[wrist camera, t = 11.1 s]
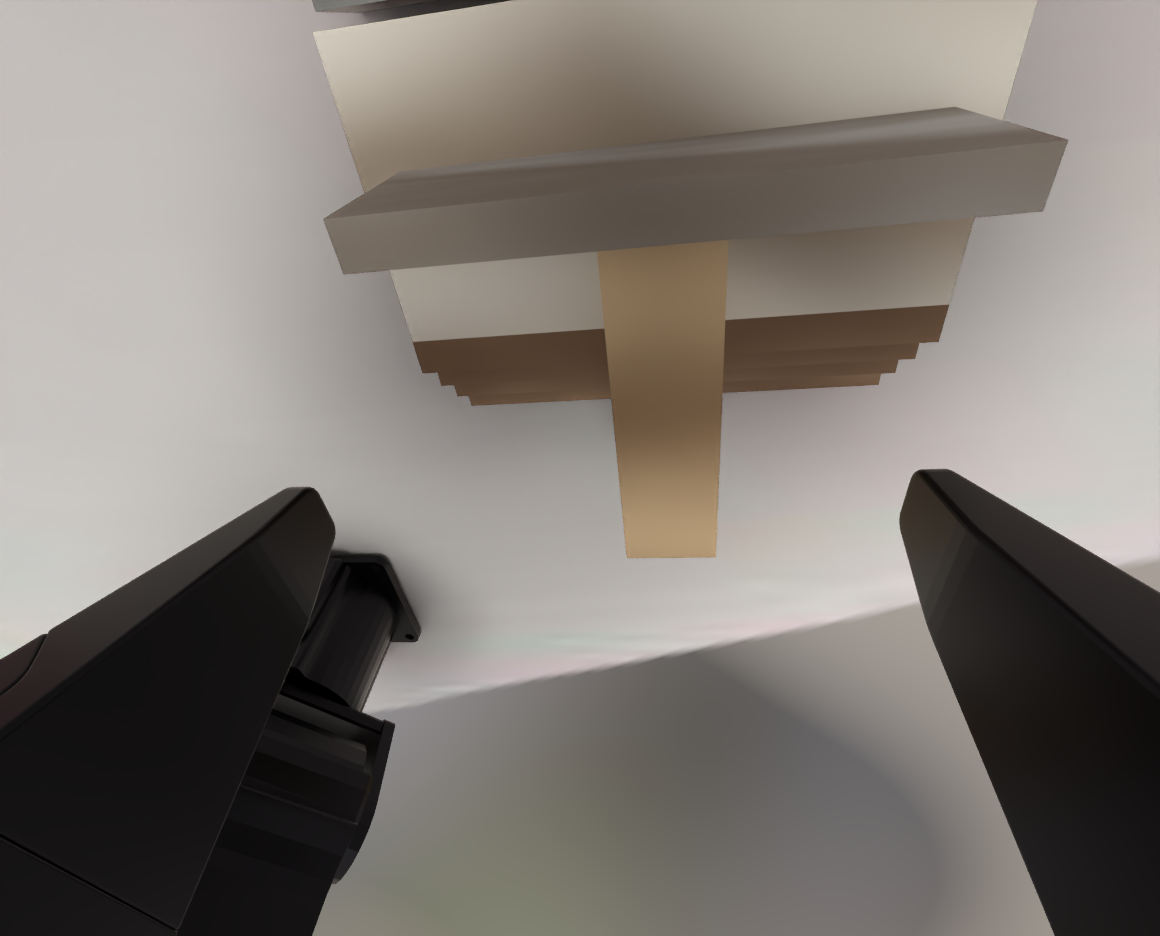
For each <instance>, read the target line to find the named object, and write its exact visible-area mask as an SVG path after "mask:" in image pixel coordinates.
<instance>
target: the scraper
mask: <svg viewBox="0 0 1160 936" xmlns="http://www.w3.org/2000/svg"><path fill="white" fill-rule="evenodd" d="M1067 142H1068V140H1067V139H1063V138H1060V137H1056V136H1053V135H1050V134H1046V133H1043V132H1040V131H1036V130H1033V129H1029V128H1026V127H1023V126H1019V125H1016V124H1013V123H1009V122H1006V121H1002V120H999V119H996V118H992V117H989V116H985V115H982V114H979V113H975V112H972V111H969V110H965V109H962V108H958V107H948V108H939V109H931V110H922V111H914V112H905V113H897V114H888V115H880V116H871V117H863V118H854V119H846V120H837V121H828V122H820V123H811V124H803V125H794V126H786V127H777V128H769V129H760V130H752V131H743V132H735V133H726V134H717V135H709V136H700V137H692V138H683V139H675V140H666V141H658V142H649V143H641V144H632V145H624V146H615V147H607V148H598V149H589V150H581V151H572V152H564V153H555V154H547V155H538V156H530V157H521V158H513V159H504V160H496V161H487V162H478V163H470V164H461V165H453V166H444V167H436V168H427V169H419V170H410V171H402V172H398V173H397V174H395V175H394V176H392V177H390V178H389V179H387V180H386V181H384V182H382V183H381V184H379V185H377V186H376V187H374V188H373V189H371V190H369V191H368V192H366V193H365V194H363V195H361V196H360V197H358V198H356V199H355V200H353V201H352V202H350V203H348V204H347V205H345V206H344V207H342V208H340V209H339V210H337V211H336V212H334V213H332V214H331V215H329V216H327V217H326V218H324V219H323V220H324V223H325V225H326V228H327V231H328V233H329V236H330V239H331V241H332V244H333V247H334V249H335V252H336V255H337V257H338V260H339V263H340V265H341V268H342V271H343V273H344V274H353V273H364V272H376V271H387V270H398V269H409V268H420V267H431V266H442V265H453V264H464V263H475V262H487V261H498V260H509V259H520V258H531V257H542V256H553V255H564V254H575V253H586V252H597V258H598V268H599V278H600V288H601V298H602V309H603V319H604V329H605V339H606V350H607V360H608V370H609V380H610V390H611V401H612V411H613V421H614V431H615V442H616V452H617V462H618V472H619V483H620V493H621V503H622V513H623V523H624V534H625V544H626V554H627V558H688V557H716V537H717V513H718V488H719V463H720V439H721V414H722V389H723V365H724V340H725V315H726V291H727V266H728V242H729V240H731V239H742V238H753V237H764V236H775V235H786V234H797V233H808V232H820V231H831V230H842V229H853V228H864V227H875V226H886V225H897V224H908V223H919V222H931V221H942V220H953V219H964V218H975V217H986V216H997V215H1008V214H1019V213H1030V212H1042V211H1043V209H1044V207H1045V204H1046V201H1047V198H1048V195H1049V193H1050V190H1051V187H1052V184H1053V181H1054V179H1055V176H1056V173H1057V170H1058V167H1059V165H1060V162H1061V159H1062V156H1063V153H1064V151H1065V148H1066V145H1067Z"/></svg>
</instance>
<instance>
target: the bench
mask: <svg viewBox="0 0 1160 936" xmlns="http://www.w3.org/2000/svg"><path fill="white" fill-rule="evenodd" d="M1036 3H1037V0H512V1H506V2H500V3H493V4H487V5H481V6H475V7H468V8H462V9H456V10H449V11H443V12H437V13H431V14H424V15H418V16H412V17H406V18H399V19H393V20H387V21H381V22H374V23H368V24H362V25H356V26H349V27H343V28H337V29H331V30H324V31H318V32H313V35H314V38H315V41H316V45H317V48H318V51H319V54H320V57H321V60H322V63H323V66H324V69H325V72H326V76H327V79H328V82H329V85H330V88H331V91H332V94H333V97H334V100H335V103H336V106H337V110H338V113H339V116H340V119H341V122H342V125H343V128H344V131H345V134H346V137H347V141H348V144H349V147H350V150H351V153H352V156H353V159H354V162H355V165H356V168H357V171H358V175H359V178H360V181H361V184H362V187H363V190H364V193H366V192H368V191H369V190H371V189H373V188H374V187H376V186H377V185H379V184H381V183H382V182H384V181H386V180H387V179H389V178H390V177H392V176H394V175H395V174H397V173H398V172H402V171H410V170H419V169H427V168H436V167H444V166H453V165H461V164H470V163H478V162H487V161H496V160H504V159H513V158H521V157H530V156H538V155H547V154H555V153H564V152H572V151H581V150H589V149H598V148H607V147H615V146H624V145H632V144H641V143H649V142H658V141H666V140H675V139H683V138H692V137H700V136H709V135H717V134H726V133H735V132H743V131H752V130H760V129H769V128H777V127H786V126H794V125H803V124H811V123H820V122H828V121H837V120H846V119H854V118H863V117H871V116H880V115H888V114H897V113H905V112H914V111H922V110H931V109H939V108H948V107H958V108H962V109H965V110H969V111H972V112H975V113H979V114H982V115H985V116H989V117H992V118H996V119H999V120H1002V121H1003V117H1004V114H1005V110H1006V107H1007V103H1008V100H1009V97H1010V93H1011V90H1012V86H1013V83H1014V79H1015V76H1016V72H1017V69H1018V66H1019V62H1020V59H1021V55H1022V52H1023V48H1024V45H1025V41H1026V38H1027V34H1028V31H1029V28H1030V24H1031V21H1032V17H1033V14H1034V10H1035V7H1036ZM973 221H974V218H964V219H953V220H942V221H931V222H919V223H908V224H897V225H886V226H875V227H864V228H853V229H842V230H831V231H820V232H808V233H797V234H786V235H775V236H764V237H753V238H742V239H731V240H729V242H728V266H727V291H726V315H725V340H724V365H723V389H722V393H727V392H747V391H766V390H786V389H805V388H825V387H844V386H864V385H878V384H879V380H880V375H881V373H895V371H896V367H897V363H898V360H899V359H915V356H916V353H917V349H918V345H919V343H926V342H939V338H940V335H941V331H942V328H943V324H944V321H945V317H946V314H947V311H948V307H949V304H950V300H951V297H952V293H953V290H954V286H955V283H956V279H957V276H958V273H959V269H960V266H961V262H962V259H963V255H964V252H965V248H966V245H967V242H968V238H969V235H970V231H971V228H972V224H973ZM389 271H390V274H391V277H392V280H393V283H394V286H395V289H396V292H397V295H398V298H399V301H400V305H401V308H402V311H403V314H404V317H405V320H406V323H407V326H408V329H409V332H410V336H411V339H412V342H413V345H414V348H415V351H416V354H417V357H418V360H419V363H420V366H421V370H422V373H435V372H437V373H438V376H439V379H440V382H441V386H445V385H454V386H455V389H456V393H457V396H469V398H470V402H471V405H472V406H475V405H494V404H514V403H533V402H552V401H572V400H591V399H611V390H610V380H609V370H608V360H607V350H606V339H605V329H604V319H603V309H602V298H601V288H600V278H599V268H598V258H597V252H586V253H575V254H564V255H553V256H542V257H531V258H520V259H509V260H498V261H487V262H475V263H464V264H453V265H442V266H431V267H420V268H409V269H398V270H389Z"/></svg>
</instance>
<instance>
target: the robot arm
mask: <svg viewBox="0 0 1160 936" xmlns="http://www.w3.org/2000/svg"><path fill="white" fill-rule="evenodd" d="M899 524H900V530H901V534H902V538H903V541H904V545H905V549H906V552H907V556H908V560H909V563H910V567H911V571H912V574H913V578H914V581H915V585H916V589H917V592H918V596H919V600H920V603H921V607H922V610H923V613H924V617H925V620H926V623H927V626H928V629H929V632H930V634H931V637H932V639H933V642H934V645H935V647H936V649H937V652H938V654H939V657H940V659H941V662H942V664H943V666H944V669H945V671H946V673H947V676H948V678H949V681H950V683H951V686H952V688H953V690H954V693H955V695H956V698H957V700H958V703H959V705H960V707H961V710H962V712H963V715H964V717H965V720H966V722H967V724H968V727H969V729H970V732H971V734H972V737H973V739H974V741H975V744H976V746H977V749H978V751H979V753H980V756H981V758H982V761H983V763H984V766H985V768H986V770H987V773H988V775H989V778H990V780H991V782H992V785H993V787H994V790H995V792H996V795H997V797H998V799H999V802H1000V804H1001V807H1002V809H1003V812H1004V814H1005V816H1006V819H1007V821H1008V824H1009V826H1010V828H1011V831H1012V833H1013V836H1014V838H1015V840H1016V843H1017V845H1018V848H1019V850H1020V853H1021V855H1022V858H1023V860H1024V862H1025V865H1026V867H1027V870H1028V872H1029V874H1030V877H1031V879H1032V881H1033V884H1034V886H1035V889H1036V892H1037V894H1038V896H1039V899H1040V901H1041V903H1042V906H1043V908H1044V911H1045V913H1046V916H1047V918H1048V921H1049V923H1050V925H1051V928H1052V930H1053V933H1054V935H1055V936H1160V592H1158V591H1156V590H1155V589H1153V588H1151V587H1149V586H1148V585H1146V584H1144V583H1143V582H1141V581H1139V580H1137V579H1136V578H1134V577H1132V576H1131V575H1129V574H1127V573H1126V572H1124V571H1122V570H1120V569H1119V568H1117V567H1115V566H1114V565H1112V564H1110V563H1109V562H1107V561H1105V560H1103V559H1102V558H1100V557H1098V556H1097V555H1095V554H1093V553H1092V552H1090V551H1088V550H1086V549H1085V548H1083V547H1081V546H1080V545H1078V544H1076V543H1075V542H1073V541H1071V540H1069V539H1068V538H1066V537H1064V536H1063V535H1061V534H1059V533H1057V532H1056V531H1054V530H1052V529H1051V528H1049V527H1047V526H1046V525H1044V524H1042V523H1040V522H1039V521H1037V520H1035V519H1034V518H1032V517H1030V516H1029V515H1027V514H1025V513H1023V512H1022V511H1020V510H1018V509H1017V508H1015V507H1013V506H1011V505H1010V504H1008V503H1006V502H1005V501H1003V500H1001V499H1000V498H998V497H996V496H994V495H993V494H991V493H989V492H988V491H986V490H984V489H983V488H981V487H979V486H977V485H976V484H974V483H972V482H971V481H969V480H967V479H965V478H964V477H962V476H960V475H959V474H957V473H955V472H953V471H951V470H948V469H923V470H918V471H916V472H915V473H914V474H913V476H912V478H911V480H910V483H909V486H908V490H907V493H906V496H905V499H904V502H903V506H902V509H901V512H900V519H899ZM334 539H335V525H334V522H333V520H332V518H331V516H330V514H329V512H328V510H327V508H326V506H325V504H324V502H323V501H322V499H321V497H320V495H319V493H318V492H317V491H316V490H315V489H314V488H311V487H290V488H286V489H284V490H282V491H281V492H279V493H277V494H276V495H274V496H272V497H271V498H269V499H267V500H266V501H264V502H262V503H261V504H259V505H257V506H256V507H254V508H252V509H251V510H249V511H247V512H246V513H244V514H242V515H241V516H239V517H237V518H236V519H234V520H232V521H231V522H229V523H227V524H226V525H224V526H222V527H221V528H219V529H217V530H216V531H214V532H212V533H211V534H209V535H207V536H206V537H204V538H202V539H201V540H199V541H197V542H196V543H194V544H192V545H191V546H189V547H187V548H186V549H184V550H182V551H181V552H179V553H177V554H176V555H174V556H172V557H171V558H169V559H167V560H166V561H164V562H162V563H161V564H159V565H157V566H156V567H154V568H152V569H151V570H149V571H147V572H146V573H144V574H142V575H141V576H139V577H137V578H136V579H134V580H132V581H131V582H129V583H127V584H126V585H124V586H122V587H121V588H119V589H117V590H116V591H114V592H112V593H111V594H109V595H107V596H106V597H104V598H102V599H101V600H99V601H97V602H96V603H94V604H92V605H91V606H89V607H87V608H86V609H84V610H82V611H81V612H79V613H77V614H76V615H74V616H72V617H71V618H69V619H67V620H66V621H64V622H62V623H61V624H59V625H57V626H56V627H54V628H52V629H51V630H50V631H49V632H48V634H42V635H40V636H39V637H37V638H35V639H34V640H32V641H31V642H29V643H27V644H26V645H24V646H22V647H21V648H19V649H17V650H16V651H14V652H12V653H11V654H9V655H7V656H5V657H4V658H2V659H0V936H312V934H313V931H314V928H315V926H316V923H317V920H318V917H319V915H320V912H321V909H322V906H323V904H324V901H325V898H326V895H327V893H328V891H329V889H330V886H331V884H336V883H337V882H339V881H340V880H341V879H342V877H343V876H344V875H345V874H346V872H347V871H348V869H349V868H350V866H351V865H352V863H353V861H354V859H355V858H356V856H357V854H358V852H359V850H360V848H361V846H362V844H363V841H364V839H365V837H366V835H367V832H368V830H369V827H370V825H371V822H372V819H373V816H374V813H375V809H376V805H377V802H378V797H379V793H380V789H381V784H382V780H383V776H384V771H385V767H386V763H387V758H388V754H389V750H390V745H391V741H392V737H393V732H394V728H395V724H394V723H392V722H390V721H387V720H383V721H382V720H379V719H377V718H374V717H372V716H370V715H367V714H365V713H362V710H363V708H364V706H365V703H366V701H367V698H368V696H369V694H370V691H371V689H372V686H373V684H374V681H375V679H376V677H377V674H378V672H379V669H380V667H381V665H382V662H383V660H384V657H385V655H386V653H387V650H388V648H389V645H390V643H391V642H416V641H418V639H419V636H420V633H421V631H420V629H419V627H418V625H417V623H416V620H415V618H414V616H413V614H412V612H411V610H410V608H409V606H408V604H407V601H406V599H405V597H404V595H403V593H402V591H401V589H400V587H399V585H398V582H397V580H396V578H395V576H394V574H393V572H392V570H391V568H390V566H389V563H388V562H387V561H386V560H385V559H384V558H382V557H379V556H334V557H329V556H330V553H331V549H332V546H333V543H334Z"/></svg>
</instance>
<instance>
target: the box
mask: <svg viewBox="0 0 1160 936" xmlns="http://www.w3.org/2000/svg"><path fill="white" fill-rule="evenodd" d="M312 1H313V5H314V8H315V11H316V12H355V13H360V12H366V11H373V10H379V9H385V8H391V7H397V6H403V5H409V4H415V3H422V2H428V1H434V0H312Z"/></svg>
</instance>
